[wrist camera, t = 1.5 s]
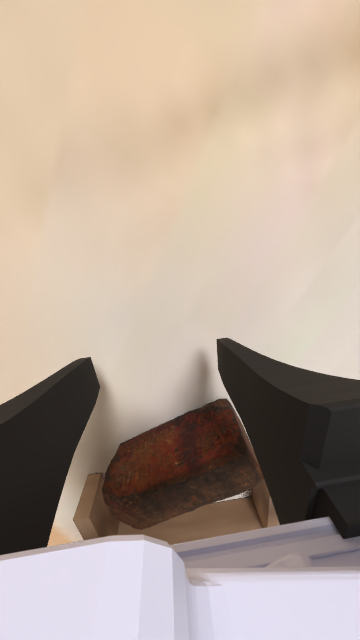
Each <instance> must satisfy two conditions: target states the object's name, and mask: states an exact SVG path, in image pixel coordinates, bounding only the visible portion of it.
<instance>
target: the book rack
mask: <svg viewBox="0 0 360 640" xmlns="http://www.w3.org/2000/svg"><path fill="white" fill-rule="evenodd" d="M103 484H104V478H103V476H102V473H99V474H93V475H88V477H87V480H86V483H85V486H84V489H83V492H82V494H81V497H80V500H79V503H78V506H77V509H76V512H75V515H74V518H73V521H74V523H75V525H76V526H77V528H78V530H79V532H80V534H81V535H82V537H83V539H84V540H90V539H95V538H101V537H107V536H115V535H146V536H149V537H152V538H156V539H159V540H162V541H166V542H167V543H168V544H169V545H173V544H179V543H184V542H190V541H195V540H201V539H206V538H212V537H218V536H223V535H229V534H234V533H240V532H245V531H251V530H256V529H262V528H267V527H273V526H278V525H280V524H279V521H278V518H277V515H276V512H275V509H274V506H273V503H272V500H271V497H270V494H269V491H268V488H267V486H266V483H265V480H263V481H262V482H261V483H260V484H258V485H257V486H255V487H254V488H252V497H246V498H241V499H235V500H229V501H223V502H218V503H212V504H207V505H204V506H202V507H199V508H196V509H195V510H194V511H191V512H187V513H184V514H182V515H179V516H176V517H174V518H171V519H169V520H167V521H164V522H162V523H159V524H157V525H154V526H152V527H150V528H146V529H142V530H139V529H135V528H132V527H131V526H129V525H127V524H125V523H123V522H121V521H119V520H117V519H116V518H115V517H113V516H112V515H111V512H110V511H109V507H108V506H107V505H106V504H105V502H104V499H103V494H102V486H103Z"/></svg>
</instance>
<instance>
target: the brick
mask: <svg viewBox="0 0 360 640" xmlns="http://www.w3.org/2000/svg"><path fill="white" fill-rule="evenodd" d="M263 480H264V477H263V474H262V471H261V469H260V466H259V463H258V461H257V458H256V455H255V453H254V450H253V448H252V446H251V443H250V441H249V439H248V436H247V434H246V432H245V430H244V427H243V425H242V423H241V421H240V419H239V418H238V416H237V414H236V412H235V410H234V409H233V407H232V405H231V404H230V402H229V401H228V400H227V399H218V400H216V401H214V402H212V403H209V404H207V405H206V406H204V407H202V408H199V409H196V410H193V411H190V412H187V413H185V414H184V415H181V416H179V417H177V418H175V419H173V420H170V421H168V422H166V423H164V424H161V425H159V426H157V427H155V428H153V429H151V430H149V431H147V432H144V433H142V434H140V435H138V436H136V437H134V438H132V439H130V440H128V441H126V442H124V443H122V444H120V446H119V448H118V450H117V452H116V454H115V456H114V458H113V459H112V460H111V463H110V465H109V467H108V469H107V471H106V474H105V481H104V484H103V486H102V494H103V499H104V502H105V504H106V505H107V506H108V507H109V511H110V512H111V515H112V516H113V517H115V518H116V519H117V520H119V521H121V522H123V523H125V524H127V525H129V526H131V527H132V528H135V529H139V530H142V529H146V528H150V527H152V526H154V525H157V524H159V523H162V522H164V521H167V520H169V519H171V518H174V517H176V516H179V515H182V514H184V513H187V512H191V511H194V510H195V509H196V508H199V507H202V506H204V505H207V504H210V503H213V502H216V501H219V500H223V499H226V498H229V497H232V496H235V495H238V494H240V493H242V492H245V491H247V490H250V489H252V488H254V487H255V486H257V485H258V484H260V483H261V482H262V481H263Z"/></svg>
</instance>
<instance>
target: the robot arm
mask: <svg viewBox="0 0 360 640" xmlns="http://www.w3.org/2000/svg"><path fill="white" fill-rule="evenodd" d="M217 355H218V370H219V373H220V376H221V379H222V382H223V384H224V386H225V388H226V390H227V392H228V394H229V396H230V398H231V400H232V402H233V404H234V406H235V408H236V410H237V412H238V414H239V416H240V418H241V420H242V422H243V424H244V427H245V429H246V432H247V434H248V437H249V439H250V442H251V445H252V447H253V450H254V453H255V455H256V458H257V461H258V463H259V466H260V469H261V471H262V474H263V477H264V480H265V483H266V486H267V488H268V491H269V494H270V497H271V500H272V503H273V506H274V509H275V512H276V515H277V518H278V521H279V524H280V525H278V526H273V527H267V528H262V529H256V530H251V531H245V532H240V533H234V534H229V535H223V536H218V537H212V538H206V539H201V540H195V541H190V542H184V543H179V544H173V545H169V544H168V543H167V542H166V541H162V540H159V539H156V538H152V537H149V536H146V535H115V536H107V537H101V538H95V539H90V540H84V541H78V542H73V543H68V544H61V545H56V546H50V547H47V545H48V540H49V536H50V533H51V529H52V525H53V522H54V518H55V514H56V510H57V507H58V503H59V500H60V496H61V493H62V490H63V486H64V483H65V480H66V476H67V473H68V470H69V467H70V464H71V461H72V458H73V455H74V452H75V450H76V447H77V445H78V442H79V440H80V438H81V436H82V433H83V431H84V429H85V427H86V424H87V422H88V420H89V418H90V415H91V413H92V411H93V408H94V406H95V403H96V400H97V397H98V393H99V389H100V385H99V382H98V379H97V376H96V373H95V370H94V366H93V363H92V360H91V357H87V358H80V359H78V360H76V361H74V362H72V363H70V364H69V365H67V366H65V367H64V368H62V369H61V370H59V371H57V372H56V373H54V374H53V375H51V376H50V377H48V378H46V379H45V380H43V381H42V382H40V383H38V384H37V385H35V386H33V387H32V388H30V389H28V390H27V391H25V392H23V393H22V394H20V395H18V396H16V397H14V398H13V399H11V400H9V401H7V402H5V403H3V404H1V405H0V640H360V380H355V379H348V378H342V377H337V376H331V375H326V374H322V373H317V372H313V371H309V370H305V369H301V368H298V367H294V366H291V365H288V364H285V363H282V362H279V361H276V360H274V359H271V358H269V357H266V356H264V355H262V354H259V353H257V352H255V351H253V350H251V349H249V348H247V347H245V346H243V345H241V344H239V343H237V342H235V341H233V340H231V339H229V338H222V339H217Z"/></svg>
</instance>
